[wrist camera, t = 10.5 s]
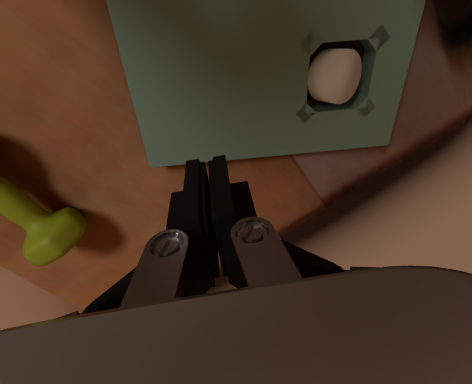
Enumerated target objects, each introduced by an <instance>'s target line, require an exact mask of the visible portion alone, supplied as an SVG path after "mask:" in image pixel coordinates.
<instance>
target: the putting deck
mask: <svg viewBox="0 0 472 384" xmlns="http://www.w3.org/2000/svg"><path fill="white" fill-rule="evenodd" d="M425 2H426V0H106V3H107V7H108V10H109V14H110V18H111V22H112V26H113V29H114V33H115V37H116V41H117V44H118V48H119V52H120V56H121V60H122V63H123V67H124V71H125V75H126V79H127V82H128V86H129V90H130V94H131V98H132V101H133V105H134V109H135V113H136V117H137V120H138V124H139V128H140V132H141V136H142V139H143V143H144V147H145V151H146V155H147V158H148V162H149V166H150V168H151V167H161V166H172V165H183V164H186V161H188V160H194V159H199V160H200V162H203V161H204V162H208V161H210V160H213V157H214V156H221V155H225V157H226V160H236V159H246V158H257V157H268V156H278V155H289V154H299V153H310V152H321V151H331V150H342V149H352V148H363V147H374V146H384V145H389V141H390V138H391V134H392V130H393V126H394V122H395V118H396V114H397V110H398V107H399V103H400V99H401V95H402V91H403V87H404V83H405V79H406V76H407V72H408V68H409V64H410V60H411V56H412V52H413V48H414V45H415V41H416V37H417V33H418V29H419V25H420V21H421V17H422V14H423V10H424V6H425ZM351 40H358V41H359V42H360V44H361V45H362V46H363V48H364V54H363V60H362V72H361V78H360V82H359V84H358V89H357V92H356V93H355V94H354V95H353V96H352V97H351V98H350V99H349V100H348V101H347V102H346V103H343V104H330V103H329V102H323V101H318V100H315V99H314V98H313V97H312V96H311V95H310V93H309V90H308V82H307V80H308V73H309V69H310V66H311V64H312V62H313V60H314V58H315V57H316V56H317V54H318V53H320V52H321V51H322V50H324V49H353V50H355V51H356V52H357V50H356V49H355V48H354V46H352V45H351V44H350V43H348V42H345V41H351ZM322 43H324V44H322ZM321 44H322V45H321ZM357 53H358V52H357ZM307 95H308V96H309V97H310V98H311V99H312V100H314V101H315V102H318V103H321V104H324V105H313V106H309V105H308V104H307V103H306V101H307Z"/></svg>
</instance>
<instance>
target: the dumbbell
mask: <svg viewBox="0 0 472 384" xmlns="http://www.w3.org/2000/svg"><path fill="white" fill-rule="evenodd" d="M0 214H2V215H3V216H5V217H6V218H8V219H9V220H11V221H12V222H14V223H16V224H17V225H19V226H21V227H22V228H24V229H25V231H26V233H27V237H26V240H25V242H24V245H23V255H24V257H25V258H26V259H27V260H28V261H29V262H31V263H32V264H34V265H36V266H45V265H47V264H50V263H52V262H54V261H55V260H57V259H59V258H61V257H62V256H64V255H65V254H66V253H67V252H69V251H70V250H71V248H72V247H73V246H74V245H75V244H76V243H77V242H78V240H79V239H80V238H81V237H82V236H83V234H84V233H85V231H86V227H87V225H86V219H85V217H84V216H83V215H82V214H81V213H80V212H78V211H77V210H76V209H74V208H71V207H66V208H63V209H60V210H58V211H56V212H47V211H45V210H44V209H43V208H42V207H40V206H39V205H38V204H37V203H36V202H35V201H34V200H33V199H31V198H30V197H29V196H28V195H27V194H25V193H24V192H23V191H22V190H20V189H19V188H18V187H16V186H15V185H14V184H12V183H11V182H10V181H8V180H7V179H5V178H4V177H2V176H1V175H0Z"/></svg>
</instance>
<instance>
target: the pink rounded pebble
mask: <svg viewBox="0 0 472 384" xmlns="http://www.w3.org/2000/svg"><path fill="white" fill-rule="evenodd" d="M361 72H362V63H361V58H360V56H359V54H358V53H357V52H356V51H355V50H353V49H324V50H322V51H321V52H320V53H318V54H317V56H316V57H315V58H314V60H313V62H312V64H311V66H310V69H309V73H308V80H307V82H308V90H309V93H310V95H311V96H312V97H313V98H314V99H315V100H318V101H323V102H329V103H334V104H343V103H345V102H346V101H348V100H349V99H350V98H351V97H352V95H353V94H354V93H355V91H356V89H357V87H358V84H359V82H360V78H361Z"/></svg>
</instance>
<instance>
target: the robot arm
mask: <svg viewBox="0 0 472 384" xmlns="http://www.w3.org/2000/svg"><path fill="white" fill-rule="evenodd" d="M208 165H209V180H208V175H207V170H206V165H205V162H204V161H203V162H200V160H199V159H194V160H188V161H186V168H185V179H184V189H183V191H179V192H173V193H172V194H171V200H170V206H169V213H168V219H167V226H166V230H165V231H162V232H159V233H157V234H156V235H154V236H153V237H152V238H151V239H150V240H149V241H148V242H147V244H146V246H145V248H144V251H143V253H142V255H141V258H140V260H139V262H138V265H137V267H136V268H134V269H133V270H132V271H131V272H129V273H128V274H127V275H126V276H124V277H123V278H122V279H121V280H119V281H118V282H117V283H116V284H114V285H113V286H112V287H111V288H109V289H108V290H107V291H106V292H104V293H103V294H102V295H100V296H99V297H98V298H97V299H95V300H94V301H93V302H92V303H91V304H90V305H89V306H88V307H86V308H85V310H84V311H83V313H81V314H80V313H79V312H78V311H75V312H72V313H70V314H67V315H64V316H61V317H58V318H56V319H52V320H48V321H42V322H36V323H31V324H27V325H22V326H17V327H12V328H8V329H4V330H0V384H472V274H470V273H467V272H463V271H458V270H452V269H446V268H439V267H431V266H390V267H381V268H379V267H350V270H343V269H342V268H341V267H340V266H338V265H336V264H334V263H333V262H330V261H328V260H326V259H324V258H321V257H319V256H317V255H315V254H312V253H310V252H308V251H306V250H303V249H301V248H299V247H297V246H294V245H292V244H290V243H288V242H285V241H283V240H281V239H280V238H279V236H278V234H277V232H276V230H275V229H274V227H273V225H272V224H271V223H270V222H269V221H268V220H266V219H264V218H261V217H257V215H256V212H255V208H254V204H253V200H252V197H251V193H250V189H249V185H248V182H247V181H245V182H238V183H232V184H230V182H229V176H228V170H227V163H226V157H225V155H221V156H214V157H213V160H210V161H208ZM218 252H219V256H220V261H221V266H222V270H223V275H224V276H228V279H229V283H230V284H232V285H233V286H235V287H236V288H237V289H231V290H226V291H219V292H213V293H206V292H207V290H209V289H210V288H211V287H215V278H218V277H220V274H219V259H218ZM205 293H206V294H205Z"/></svg>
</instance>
